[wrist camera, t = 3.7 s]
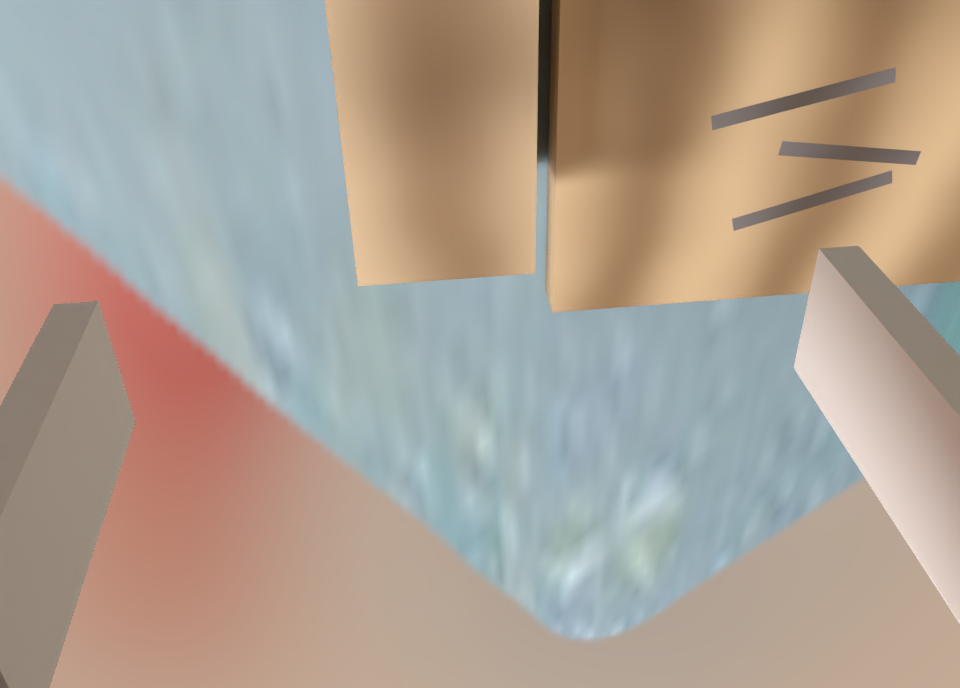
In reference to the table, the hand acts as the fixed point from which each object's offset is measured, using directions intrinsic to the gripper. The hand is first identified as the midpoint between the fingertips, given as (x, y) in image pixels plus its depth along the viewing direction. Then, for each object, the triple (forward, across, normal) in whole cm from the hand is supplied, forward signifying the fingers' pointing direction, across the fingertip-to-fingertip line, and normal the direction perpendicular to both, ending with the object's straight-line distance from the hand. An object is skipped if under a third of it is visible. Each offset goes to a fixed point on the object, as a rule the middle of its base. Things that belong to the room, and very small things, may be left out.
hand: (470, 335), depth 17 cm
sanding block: (+15, 0, 0) cm, 15 cm away
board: (+15, +13, -2) cm, 20 cm away
